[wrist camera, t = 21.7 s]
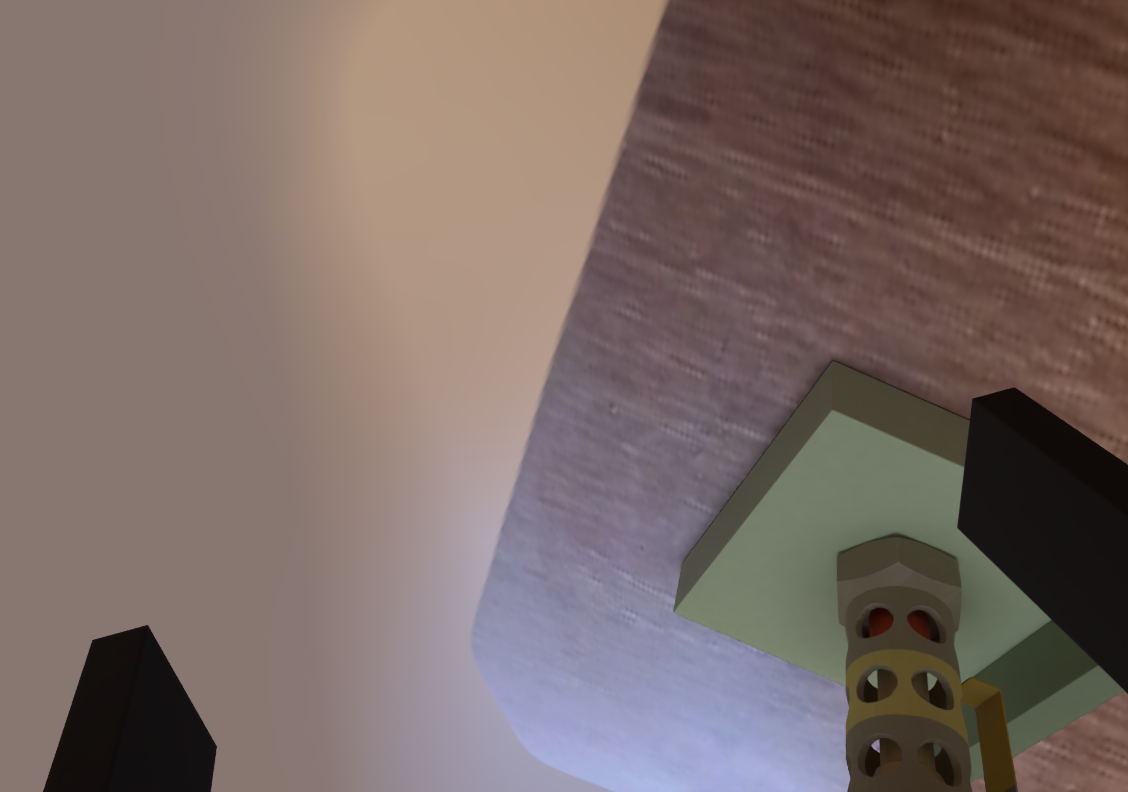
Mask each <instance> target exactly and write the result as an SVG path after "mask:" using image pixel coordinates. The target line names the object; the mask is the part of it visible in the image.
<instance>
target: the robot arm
mask: <svg viewBox="0 0 1128 792" xmlns="http://www.w3.org/2000/svg"><path fill="white" fill-rule="evenodd" d="M957 528H958V529H959V530H960V531H961V532H962V533H963V534H964V535H965V536H966V537H967V538H968V539H969V540H970V541H971V542H972V543H973V544H974V545H975V546H976V547H977V548H978V549H979V550H980V551H981V552H982V553H983V554H984V555H985V556H986V557H987V558H988V559H989V560H991V561H992V562H993V563H994V564H995V565H996V566H997V567H998V568H999V569H1000V570H1001V571H1002V572H1003V573H1004V574H1005V575H1006V576H1007V577H1008V578H1009V579H1010V580H1011V581H1012V582H1013V583H1014V584H1015V585H1016V586H1017V587H1018V588H1019V589H1020V590H1021V591H1022V592H1023V593H1024V594H1026V595H1027V596H1028V597H1029V598H1030V599H1031V600H1032V601H1033V602H1034V603H1035V604H1036V605H1037V606H1038V607H1039V608H1040V609H1041V610H1042V611H1043V612H1044V613H1045V614H1046V615H1047V616H1048V617H1049V618H1050V619H1051V620H1052V621H1053V622H1054V623H1055V624H1056V625H1057V626H1058V627H1060V628H1061V629H1062V630H1063V631H1064V632H1065V633H1066V634H1067V635H1068V636H1069V637H1070V638H1071V639H1072V640H1073V641H1074V642H1075V643H1076V644H1077V645H1078V646H1079V647H1080V648H1081V649H1082V650H1083V651H1084V652H1085V653H1086V654H1087V655H1088V656H1089V657H1090V658H1091V659H1092V660H1094V661H1095V662H1096V663H1097V664H1098V665H1099V666H1100V667H1101V668H1102V669H1103V670H1104V671H1105V672H1106V673H1107V674H1108V675H1109V676H1110V677H1111V678H1112V679H1113V680H1114V681H1115V682H1116V683H1117V684H1118V685H1119V686H1120V687H1121V688H1122V689H1123V690H1124V691H1125V692H1126V693H1128V465H1127V464H1126V463H1124V462H1123V461H1122V460H1120V459H1119V458H1117V457H1116V456H1114V455H1113V454H1111V453H1110V452H1108V451H1107V450H1105V449H1104V448H1103V447H1101V446H1100V445H1098V444H1097V443H1095V442H1094V441H1092V440H1091V439H1089V438H1088V437H1086V436H1085V435H1084V434H1082V433H1081V432H1079V431H1078V430H1076V429H1075V428H1073V427H1072V426H1070V425H1069V424H1067V423H1066V422H1065V421H1063V420H1062V419H1060V418H1059V417H1057V416H1056V415H1054V414H1053V413H1051V412H1050V411H1048V410H1047V409H1046V408H1044V407H1043V406H1041V405H1040V404H1038V403H1037V402H1035V401H1034V400H1032V399H1031V398H1029V397H1028V396H1027V395H1025V394H1024V393H1022V392H1021V391H1019V390H1018V389H1016V388H1015V387H1014V388H1010V389H1006V390H1003V391H999V392H995V393H992V394H988V395H984V396H981V397H977V398H974V399H972V407H971V416H970V424H969V432H968V441H967V449H966V457H965V466H964V474H963V482H962V491H961V499H960V507H959V516H958V524H957ZM216 749H217V746H216V744H215V742H214V741H213V739H212V737H211V735H210V734H209V732H208V730H207V728H206V727H205V725H204V723H203V721H202V720H201V718H200V716H199V714H198V713H197V711H196V709H195V707H194V706H193V704H192V702H191V700H190V699H189V697H188V695H187V693H186V691H185V690H184V688H183V686H182V684H181V683H180V681H179V679H178V677H177V676H176V674H175V672H174V671H173V669H172V667H171V665H170V663H169V662H168V660H167V658H166V656H165V654H164V653H163V651H162V649H161V647H160V646H159V644H158V642H157V640H156V639H155V637H154V635H153V633H152V632H151V630H150V628H149V626H148V625H146V626H142V627H139V628H135V629H132V630H128V631H124V632H120V633H117V634H113V635H110V636H106V637H102V638H98V639H95V640H92V643H91V646H90V650H89V653H88V656H87V659H86V662H85V665H84V668H83V671H82V674H81V677H80V680H79V683H78V686H77V689H76V693H75V695H74V698H73V701H72V705H71V708H70V711H69V714H68V717H67V720H66V723H65V727H64V729H63V732H62V735H61V738H60V741H59V745H58V747H57V751H56V754H55V757H54V760H53V763H52V766H51V769H50V772H49V775H48V778H47V781H46V784H45V788H44V790H43V792H211V786H212V778H213V771H214V764H215V756H216Z"/></svg>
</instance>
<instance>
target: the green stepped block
mask: <svg viewBox="0 0 1128 792" xmlns="http://www.w3.org/2000/svg"><path fill="white" fill-rule="evenodd" d="M969 424H970V421H969V420H967V419H965V418H962V417H960V416H958V415H955V414H953V413H951V412H949V411H946V410H944V409H942V408H940V407H937V406H935V405H933V404H930V403H928V402H926V401H924V400H921V399H919V398H917V397H914V396H912V395H910V394H908V393H905V392H903V391H901V390H899V389H896V388H894V387H892V386H889V385H887V384H885V383H883V382H880V381H878V380H876V379H874V378H871V377H869V376H867V375H864V374H862V373H860V372H858V371H855V370H853V369H851V368H849V367H846V366H844V365H842V364H839V363H837V362H835V361H832V363H831V364H830V365H829V367H828V368H827V369H826V371H825V372H824V373H823V375H822V376H821V377H820V379H819V380H818V381H817V383H816V384H815V385H814V387H813V388H812V389H811V391H810V392H809V393H808V395H807V396H806V398H805V399H804V400H803V402H802V403H801V404H800V406H799V407H798V408H797V410H796V411H795V412H794V414H793V415H792V416H791V418H790V419H789V420H788V422H787V423H786V424H785V426H784V427H783V428H782V430H781V431H780V433H779V434H778V435H777V437H776V438H775V439H774V441H773V442H772V443H771V445H770V446H769V447H768V449H767V450H766V451H765V453H764V454H763V455H762V457H761V458H760V459H759V461H758V462H757V463H756V465H755V466H754V468H753V469H752V470H751V472H750V473H749V474H748V476H747V477H746V478H745V480H744V481H743V482H742V484H741V485H740V486H739V488H738V489H737V490H736V492H735V493H734V494H733V496H732V497H731V498H730V500H729V501H728V503H727V504H726V505H725V507H724V508H723V509H722V511H721V512H720V513H719V515H718V516H717V517H716V519H715V520H714V521H713V523H712V524H711V525H710V527H709V528H708V529H707V531H706V532H705V533H704V535H703V536H702V538H701V539H700V540H699V542H698V543H697V544H696V546H695V547H694V548H693V550H692V551H691V552H690V554H689V555H688V556H687V558H686V559H685V560H684V562H683V563H682V567H681V572H680V578H679V583H678V589H677V594H676V600H675V605H674V610H673V613H675V614H677V615H680V616H682V617H684V618H687V619H689V620H691V621H694V622H696V623H698V624H701V625H703V626H705V627H708V628H710V629H712V630H715V631H717V632H719V633H722V634H724V635H726V636H729V637H731V638H733V639H736V640H738V641H740V642H743V643H745V644H747V645H750V646H752V647H754V648H757V649H759V650H761V651H764V652H766V653H768V654H771V655H773V656H775V657H778V658H780V659H782V660H785V661H787V662H789V663H792V664H794V665H796V666H799V667H801V668H803V669H806V670H808V671H810V672H813V673H815V674H817V675H820V676H822V677H824V678H827V679H829V680H831V681H834V682H836V683H838V684H841V685H843V686H845V687H846V656H847V651H848V641H847V637H846V631H845V627H844V626H842V625H841V624H839V618H838V595H837V557H838V556H840V555H842V554H844V553H846V552H848V551H850V550H852V549H854V548H856V547H858V546H860V545H862V544H864V543H867V542H871V541H875V540H880V539H887V538H892V537H900V538H905V539H909V540H913V541H916V542H919V543H923V544H926V545H928V546H930V547H932V548H934V549H936V550H938V551H940V552H942V553H944V554H945V555H947V556H949V557H951V558H953V559H954V560H956V561H958V563H959V571H960V578H961V585H962V595H961V613H960V622H959V628H958V631H957V632H955V642H954V647H955V651H956V655H957V659H958V663H959V669H960V677H961V684H962V683H963V682H964V681H965V680H967V679H968V678H970V677H973V678H976V679H978V680H981V681H983V682H986V683H988V684H991V685H993V686H996V687H998V688H999V689H1001V691H1002V697H1003V703H1004V709H1005V715H1006V722H1007V728H1008V734H1009V740H1010V746H1011V752H1012V758H1013V757H1015V756H1016V755H1018V754H1020V753H1021V752H1023V751H1025V750H1026V749H1028V748H1030V747H1031V746H1033V745H1035V744H1036V743H1038V742H1040V741H1041V740H1043V739H1045V738H1046V737H1048V736H1050V735H1051V734H1053V733H1055V732H1056V731H1058V730H1060V729H1061V728H1063V727H1065V726H1066V725H1068V724H1070V723H1072V722H1073V721H1075V720H1077V719H1078V718H1080V717H1082V716H1083V715H1085V714H1087V713H1088V712H1090V711H1092V710H1093V709H1095V708H1097V707H1098V706H1100V705H1102V704H1103V703H1105V702H1107V701H1108V700H1110V699H1112V698H1113V697H1115V696H1117V695H1118V694H1120V693H1122V692H1124V690H1123V689H1122V688H1121V687H1120V686H1119V685H1118V684H1117V683H1116V682H1115V681H1114V680H1113V679H1112V678H1111V677H1110V676H1109V675H1108V674H1107V673H1106V672H1105V671H1104V670H1103V669H1102V668H1101V667H1100V666H1099V665H1098V664H1097V663H1096V662H1095V661H1094V660H1092V659H1091V658H1090V657H1089V656H1088V655H1087V654H1086V653H1085V652H1084V651H1083V650H1082V649H1081V648H1080V647H1079V646H1078V645H1077V644H1076V643H1075V642H1074V641H1073V640H1072V639H1071V638H1070V637H1069V636H1068V635H1067V634H1066V633H1065V632H1064V631H1063V630H1062V629H1061V628H1060V627H1058V626H1057V625H1056V624H1055V623H1054V622H1053V621H1052V620H1051V619H1050V618H1049V617H1048V616H1047V615H1046V614H1045V613H1044V612H1043V611H1042V610H1041V609H1040V608H1039V607H1038V606H1037V605H1036V604H1035V603H1034V602H1033V601H1032V600H1031V599H1030V598H1029V597H1028V596H1027V595H1026V594H1024V593H1023V592H1022V591H1021V590H1020V589H1019V588H1018V587H1017V586H1016V585H1015V584H1014V583H1013V582H1012V581H1011V580H1010V579H1009V578H1008V577H1007V576H1006V575H1005V574H1004V573H1003V572H1002V571H1001V570H1000V569H999V568H998V567H997V566H996V565H995V564H994V563H993V562H992V561H991V560H989V559H988V558H987V557H986V556H985V555H984V554H983V553H982V552H981V551H980V550H979V549H978V548H977V547H976V546H975V545H974V544H973V543H972V542H971V541H970V540H969V539H968V538H967V537H966V536H965V535H964V534H963V533H962V532H961V531H960V530H959V529H958V528H957V524H958V516H959V507H960V499H961V491H962V482H963V474H964V466H965V457H966V449H967V441H968V432H969ZM927 678H928V690H931V689H932V687H933V686H934V685H935V683H936V681H937V678H936V677H934V676H933V675H931V674H930V673H927ZM868 681H869V682H870V683H871V684H872V685H873V686H874V687H876V688H877V689H878V686H877V670H876V671H874V672H872V673H871V675H870V676H869V677H868ZM961 710H962V714H963V717H964V721H965V725H966V730H967V734H968V742H969V751H970V759H971V767H972V773H971V778H970V783H971V782H973V781H974V780H976V779H978V778H979V777H981V776H983V775H984V772H983V765H982V757H981V750H980V742H979V735H978V727H977V720H976V712H975V708H973V707H971V706H968V705H966V704H964V703H963V704H962V709H961ZM933 746H934V757H935V756H937V755H938V754H939V752H940V751H941V749H942V747H940V746H939V745H937V744H934V743H933Z"/></svg>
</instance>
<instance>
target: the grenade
mask: <svg viewBox="0 0 1128 792" xmlns="http://www.w3.org/2000/svg"><path fill="white" fill-rule="evenodd" d="M837 595H838V618H839V624H841V625H842V626H844V627H845V631H846V637H847V641H848V651H847V656H846V696H847V700H848V704H849V711H848V716H847V721H846V760H847V766H848V770H849V774H850V783H849V787H848V791H847V792H972V789H971V785H970V778H971V773H972V767H971V759H970V751H969V742H968V734H967V730H966V725H965V721H964V717H963V714H962V710H961V709H962V704H963V703H964V704H966V705H968V706H971V707H973V708H975V712H976V720H977V727H978V735H979V742H980V750H981V757H982V765H983V772H984V780H985V787H986V792H1018V789H1017V783H1016V777H1015V771H1014V765H1013V759H1012V752H1011V746H1010V740H1009V734H1008V728H1007V722H1006V715H1005V709H1004V703H1003V697H1002V691H1001V689H999V688H998V687H996V686H993V685H991V684H988V683H986V682H983V681H981V680H978V679H976V678H973V677H970V678H968V679H967V680H965V681H964V682H963V683H962V684H961V677H960V669H959V663H958V659H957V655H956V651H955V647H954V642H955V632H957V631H958V628H959V622H960V613H961V595H962V585H961V578H960V571H959V563H958V561H956V560H954V559H953V558H951V557H949V556H947V555H945V554H944V553H942V552H940V551H938V550H936V549H934V548H932V547H930V546H928V545H926V544H923V543H919V542H916V541H913V540H909V539H905V538H900V537H892V538H887V539H880V540H875V541H871V542H867V543H864V544H862V545H860V546H858V547H856V548H854V549H852V550H850V551H848V552H846V553H844V554H842V555H840V556H838V557H837ZM876 670H877V686H878V689H877V688H876V687H874V686H873V685H872V684H871V683H870V682H869V681H868V677H869V676H870V675H871V673H872V672H874V671H876ZM927 673H930V674H931V675H933V676H934V677H936V678H937V681H936V683H935V685H934V686H933V687H932V689H931V690H928V678H927ZM878 739H880V753H879V752H877V751H876V750H874V749H873V748H872V746H871V745H872V744H873V743H874V741H876V740H878ZM933 743H934V744H937V745H939V746H940V747H942V749H941V751H940V752H939V754H938V755H937V756H935V757H934V746H933Z"/></svg>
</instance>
